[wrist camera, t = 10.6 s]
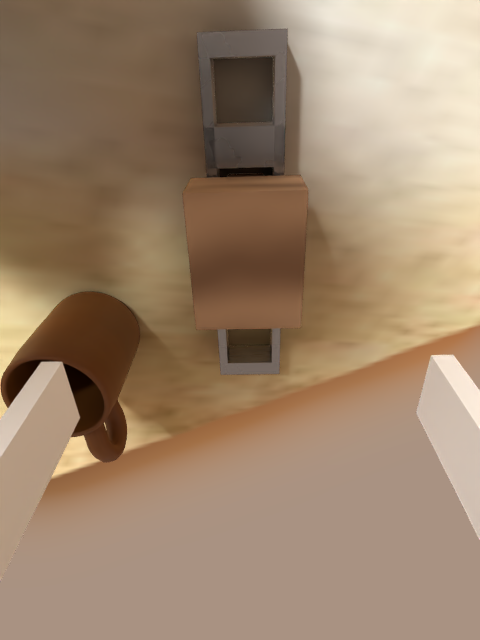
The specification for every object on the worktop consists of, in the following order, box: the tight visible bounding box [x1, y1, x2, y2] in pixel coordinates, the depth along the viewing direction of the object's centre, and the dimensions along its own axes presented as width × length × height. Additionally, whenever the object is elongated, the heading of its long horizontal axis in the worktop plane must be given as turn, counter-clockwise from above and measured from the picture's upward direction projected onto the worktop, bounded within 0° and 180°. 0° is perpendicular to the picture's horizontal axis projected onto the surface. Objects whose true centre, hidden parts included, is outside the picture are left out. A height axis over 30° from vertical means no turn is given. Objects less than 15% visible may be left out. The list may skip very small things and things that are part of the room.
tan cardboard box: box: [182, 173, 308, 330], centre depth 28 cm, size 9×7×7 cm
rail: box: [197, 29, 287, 375], centre depth 30 cm, size 24×5×3 cm, turn 2°
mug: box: [1, 292, 140, 462], centre depth 33 cm, size 12×8×9 cm, turn 18°
